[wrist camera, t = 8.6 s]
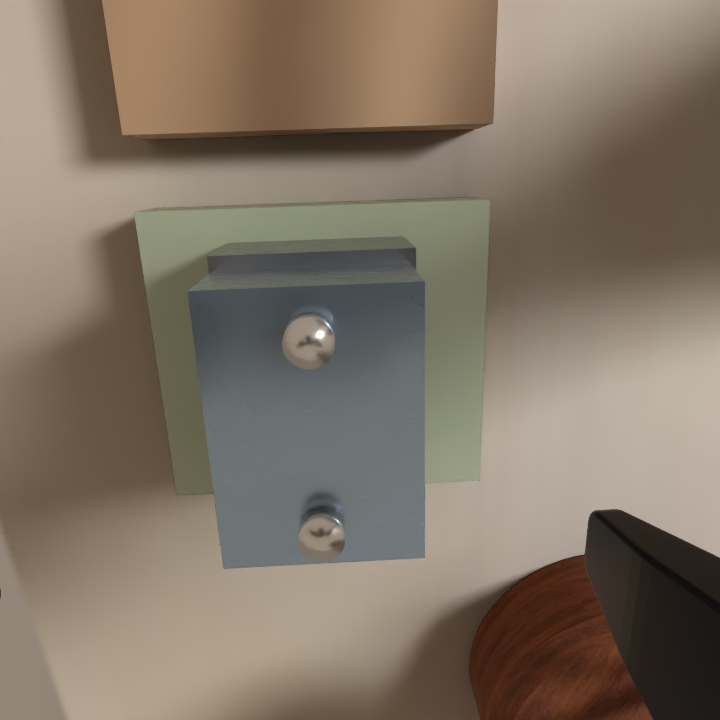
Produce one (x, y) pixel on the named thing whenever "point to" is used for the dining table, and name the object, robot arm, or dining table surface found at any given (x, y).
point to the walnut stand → (300, 66)
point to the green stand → (329, 221)
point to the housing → (314, 399)
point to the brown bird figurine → (551, 654)
